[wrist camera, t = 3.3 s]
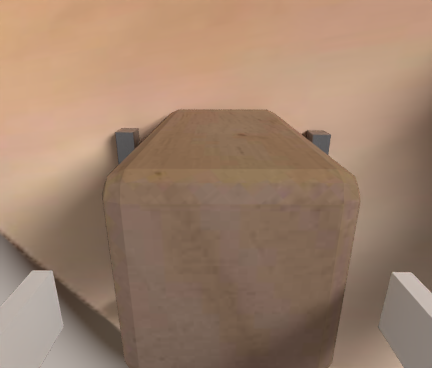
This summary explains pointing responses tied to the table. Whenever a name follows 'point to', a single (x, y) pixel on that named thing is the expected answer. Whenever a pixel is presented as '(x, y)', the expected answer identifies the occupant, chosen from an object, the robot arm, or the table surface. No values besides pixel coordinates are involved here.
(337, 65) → the table surface
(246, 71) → the table surface
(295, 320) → the wooden block
